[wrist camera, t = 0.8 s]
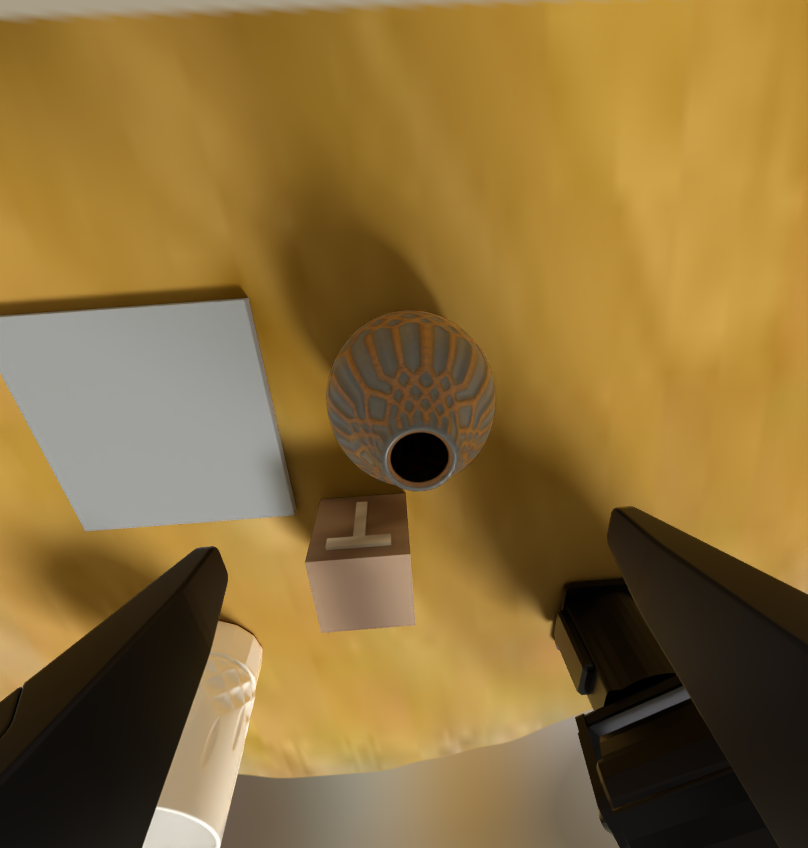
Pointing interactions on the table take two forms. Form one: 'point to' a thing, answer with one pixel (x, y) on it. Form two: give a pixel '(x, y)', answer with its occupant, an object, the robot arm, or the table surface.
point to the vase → (411, 399)
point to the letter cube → (361, 563)
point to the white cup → (209, 746)
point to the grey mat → (151, 411)
